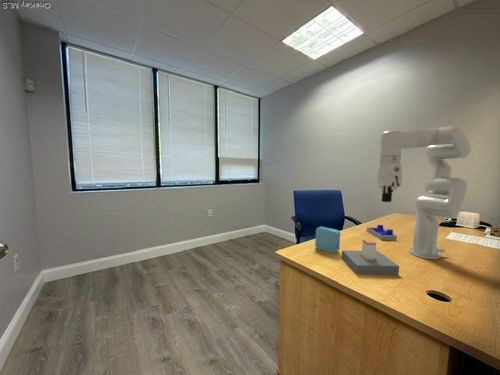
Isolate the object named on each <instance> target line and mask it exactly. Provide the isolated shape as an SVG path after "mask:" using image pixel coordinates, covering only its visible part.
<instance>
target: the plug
mask: <svg viewBox="0 0 500 375" xmlns="http://www.w3.org/2000/svg"><path fill="white" fill-rule="evenodd" d="M361 251H362V258H364V259H365V260H375V252H376V251H377V242H376V241H374V240H372V239H362V245H361Z"/></svg>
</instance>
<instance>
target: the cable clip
mask: <svg viewBox="0 0 500 375" xmlns="http://www.w3.org/2000/svg"><path fill="white" fill-rule="evenodd" d="M376 227H377V229H375V232H377V233H379V234H381V235H393V234H394V229H390V228H389V229H386V233H385V232H384V230H385V228H384V225H383V224H377V226H376Z"/></svg>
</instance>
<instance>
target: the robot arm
mask: <svg viewBox="0 0 500 375" xmlns="http://www.w3.org/2000/svg"><path fill="white" fill-rule="evenodd" d="M425 147H426V148H425ZM417 148H425V155H426V157H427V160H428V163H429V172H428V175H427V177H426V181H425V185H424V189H423V190H424V191H425V193H427V194H430V195H419V196H418V197H417V198H416V199H415V201H414V210H415V220H414V222H415V224H414V233H413V240H412V241H413V242H412V243H413V244H412V248H411V247H410V248H409V249H408V252H409V253H410V254H411V255H413V256H415V257H418V258H422V259H427V260H439V259H440V254H439V253H442V254H444V253H446V250H445V248H439V247H437V244H438V237H439V227H440V223H439V221H438V219H437V217H442V218H445V219H446V218H447V219H454V218H457V217H458V216H459V214H460V212H461V210H462V207H463V204H464V200H465V197H466V195H467V194H466V193H467V188H468V184H467V182H466V180H465V179H464V178H461V177H451V174H452V170H453V169H452V167H451V166H450V164H449V163H448V162H447V161H446V160H460V159H466V158H467V157H469V156H470V154H471V152H472V147H471V144H470V141H469V140H468V137H467V136H466V134H465V131H463V130H462V128H461V127H460V126H457V125H448V126H439V127H430V128H420V129H414V130H413V129H412V130H409V131H400V130H389V131H387V130H386V131H384V132H383V133H382V134H381V140H380V151H379V152H380V154H379V167H378V173H377V184H378V187H379V188H380V189H381V193H382V195H381V201H382V202H384V203H391V202H392V197H393V196H392V195H393V194H394V191H396V190H397V189H398V188H399V187H401V186H402V181H403V180H402V177H403V175H402V174H403V169H402V163H401V158H402V150H409V149H417ZM440 196H441V197H440Z"/></svg>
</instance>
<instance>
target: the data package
mask: <svg viewBox="0 0 500 375" xmlns="http://www.w3.org/2000/svg"><path fill="white" fill-rule="evenodd" d="M340 243H341V232H340V230H338V229H335V228H330V227H326V226H319V227H317V228H316V229H315V243H314V244H315V248H316V249H318V250H321V251H325V252H328V253H330V254H336V253H338V252H339V251H340V245H341V244H340Z"/></svg>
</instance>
